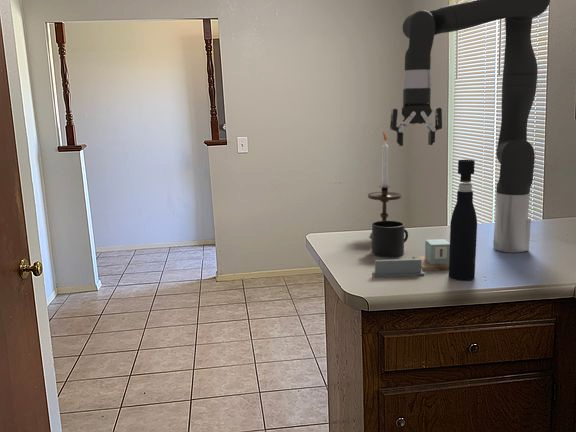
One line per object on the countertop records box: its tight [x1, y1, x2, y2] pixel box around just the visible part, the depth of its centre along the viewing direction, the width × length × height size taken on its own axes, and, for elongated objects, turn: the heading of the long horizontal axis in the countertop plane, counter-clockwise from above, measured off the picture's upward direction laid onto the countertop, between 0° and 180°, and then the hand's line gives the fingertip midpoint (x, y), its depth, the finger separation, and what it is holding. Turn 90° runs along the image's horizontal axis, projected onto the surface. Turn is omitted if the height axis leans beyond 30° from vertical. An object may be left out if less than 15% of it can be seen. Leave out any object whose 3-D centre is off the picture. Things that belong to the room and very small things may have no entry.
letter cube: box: [424, 238, 450, 264], centre depth 155 cm, size 6×6×6 cm
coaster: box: [412, 255, 449, 271], centre depth 156 cm, size 11×11×1 cm
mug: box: [371, 220, 409, 258], centre depth 168 cm, size 9×12×9 cm
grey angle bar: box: [372, 258, 425, 278], centre depth 147 cm, size 13×3×4 cm, turn 92°
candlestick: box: [367, 131, 402, 239], centre depth 185 cm, size 11×11×35 cm
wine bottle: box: [448, 159, 478, 282], centre depth 142 cm, size 6×6×30 cm
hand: (415, 145), depth 160 cm, fingers open, 8 cm apart
